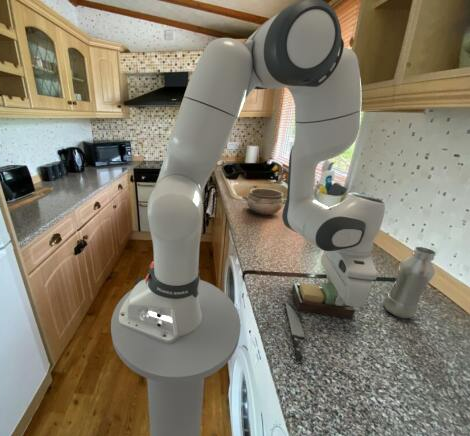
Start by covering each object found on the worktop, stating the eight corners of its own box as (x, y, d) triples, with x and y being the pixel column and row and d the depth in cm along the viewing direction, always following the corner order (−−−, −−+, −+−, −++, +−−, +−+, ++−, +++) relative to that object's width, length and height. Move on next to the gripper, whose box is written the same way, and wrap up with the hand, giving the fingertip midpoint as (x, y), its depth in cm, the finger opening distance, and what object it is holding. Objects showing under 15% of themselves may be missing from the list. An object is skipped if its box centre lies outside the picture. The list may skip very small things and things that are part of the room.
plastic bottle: (415, 325, 63) (449, 260, 56) (383, 315, 66) (411, 252, 59) (409, 309, 69) (439, 248, 61) (379, 301, 72) (404, 241, 64)
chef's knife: (295, 304, 70) (284, 302, 71) (296, 301, 70) (285, 299, 70) (311, 365, 53) (296, 361, 54) (312, 361, 52) (298, 357, 53)
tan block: (301, 305, 69) (304, 294, 67) (297, 293, 74) (300, 283, 72) (320, 308, 68) (324, 297, 67) (315, 296, 73) (318, 285, 71)
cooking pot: (283, 209, 142) (287, 189, 137) (289, 221, 125) (294, 199, 120) (240, 205, 147) (242, 185, 142) (240, 217, 130) (242, 195, 125)
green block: (325, 305, 67) (329, 294, 66) (320, 293, 72) (323, 282, 70) (345, 308, 67) (349, 296, 65) (338, 296, 71) (342, 285, 69)
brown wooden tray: (298, 310, 68) (300, 302, 67) (291, 290, 76) (293, 282, 74) (352, 318, 65) (355, 310, 64) (339, 297, 73) (342, 289, 72)
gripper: (321, 235, 73) (311, 273, 78) (350, 275, 55) (334, 321, 60) (344, 237, 72) (332, 275, 77) (382, 279, 53) (362, 325, 59)
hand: (333, 296), depth 69 cm, fingers closed on green block, 5 cm apart
